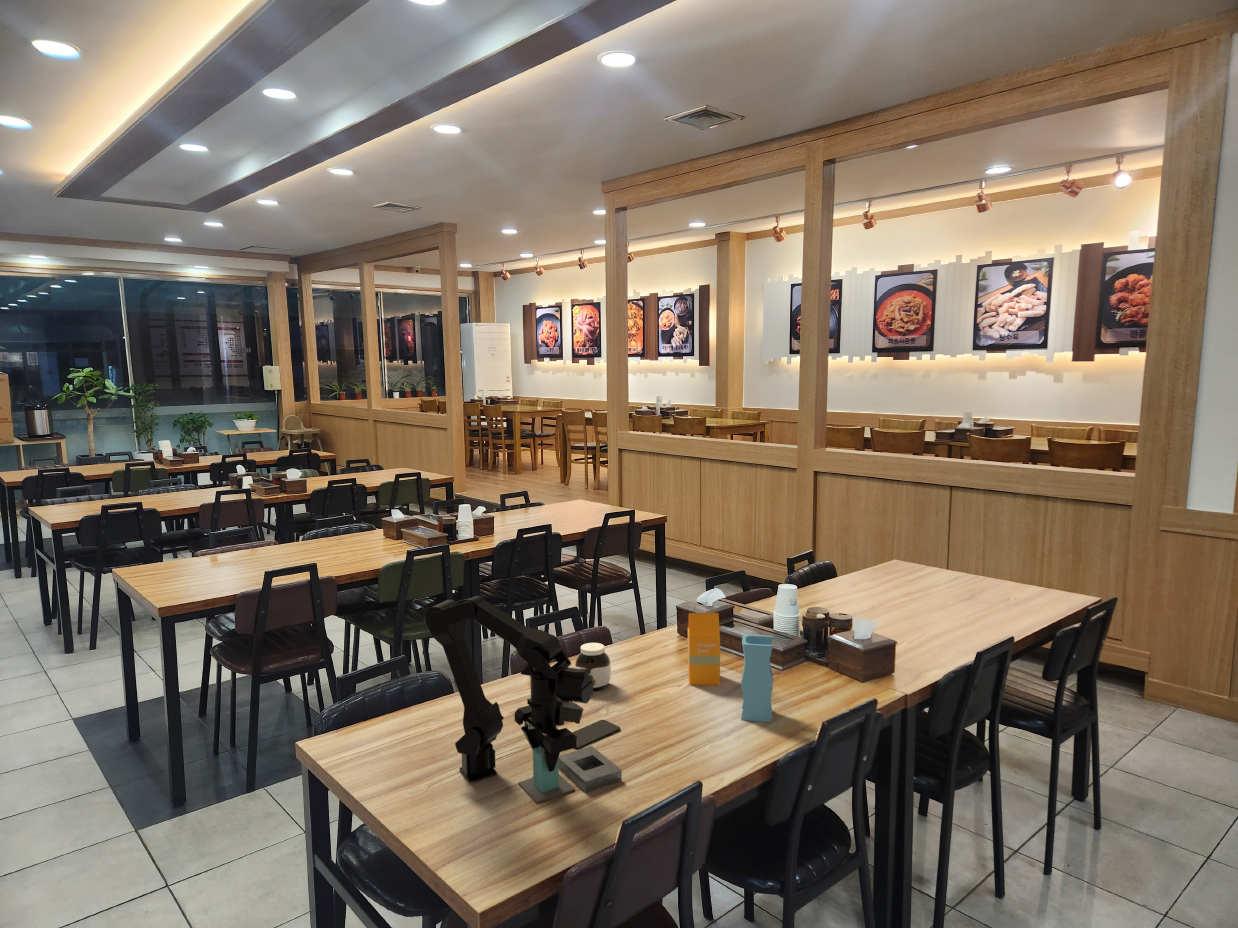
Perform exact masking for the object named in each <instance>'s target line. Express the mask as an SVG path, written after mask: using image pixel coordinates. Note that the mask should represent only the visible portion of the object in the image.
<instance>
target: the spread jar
mask: <svg viewBox="0 0 1238 928" xmlns="http://www.w3.org/2000/svg"><path fill="white" fill-rule="evenodd" d="M574 664H575V665H574V668H576V669H588V675H590V676H591V678H592V681H593V692H594V691H595V692H598V691H600V690H603V689H605V688H606V687H607V686H608V684H609V683H610V681H611V673H612V672H611V671H612V668H611V667H612V666H611V660H610V657H609V655H608V654H607V652H605V645H604V644H602V643H599V642H588V643H584V644H582V645H581V646H580V653H579V654H578V655H577V657H576V659H575V663H574Z"/></svg>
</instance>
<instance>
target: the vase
mask: <svg viewBox="0 0 1238 928" xmlns="http://www.w3.org/2000/svg"><path fill="white" fill-rule="evenodd" d="M773 637H774V636H773V635H763V634H761V635H760V634H743V635H742V639H741V644H742V650H743V657H744V658H743V659H744V660H743V661H744V663H743V668H742V674H741V679H740V680H741V681H740V684H741V685H740V687H741V691H742V692H741V693H742V698H743V699H742V700H743V701H742V702H743V703H742V706H741V708H742V712H741V718H740V720H741V721H750V722H763V723H769V722H772V721H773V707H772V695H773V690H774V683H773V682H774V676H773V675H774V673H773V670H772V666H771V655H772V651H773V648H774V645H773V644H772V643H773Z"/></svg>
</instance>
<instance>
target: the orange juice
mask: <svg viewBox="0 0 1238 928" xmlns="http://www.w3.org/2000/svg"><path fill="white" fill-rule="evenodd" d="M719 615H720V613H719V612H688V620H687V621H688V622H687V678H688V682H689V685H690V686H702V685H703V686H713V685H714V686H715V685H716V686H721V634H720V633H721V630H720V629H721V628H720V617H719Z"/></svg>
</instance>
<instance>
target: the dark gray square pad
mask: <svg viewBox="0 0 1238 928" xmlns="http://www.w3.org/2000/svg"><path fill="white" fill-rule="evenodd" d="M517 784H518V786H519V787H520V788H521V789H522V790H523V791H524V792H525V793H526V794H527V796H529V798H531V799H532V801H534V802H535V804H540V803H543V802H545V801H548V800H553V799H554V798H557V797H561V796H563V795H566V794H570V793H572V792H575V791H576V789H575V787H573V786H572V784H570V783H569V782H568V781H567V780H566V779H565V778H564V777H563V776H562V775H560V774H559V787H558V788H555V789H552V790H548V791H545V792H541V791H540V790H539V789H538V788H537V787H536V786H535V785H534V778H533V777H532V778H529V779H525V780H521V781H519V782H518V783H517Z"/></svg>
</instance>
